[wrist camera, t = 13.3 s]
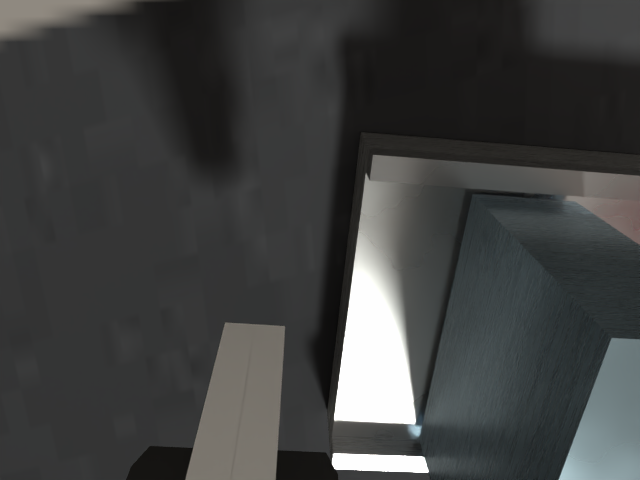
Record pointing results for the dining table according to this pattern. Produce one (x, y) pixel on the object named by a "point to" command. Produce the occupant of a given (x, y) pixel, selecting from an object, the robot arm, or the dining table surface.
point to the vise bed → (432, 270)
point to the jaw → (538, 349)
